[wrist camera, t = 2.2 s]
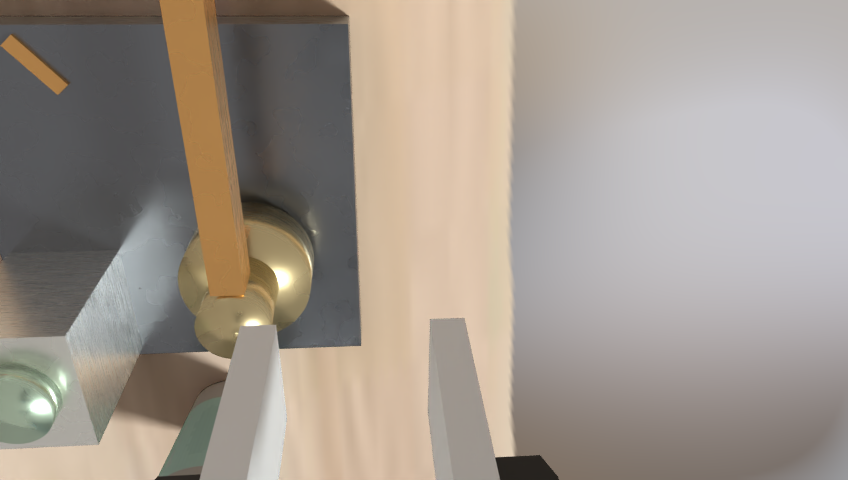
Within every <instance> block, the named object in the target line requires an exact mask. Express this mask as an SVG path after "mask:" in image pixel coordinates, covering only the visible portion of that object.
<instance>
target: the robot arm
mask: <svg viewBox="0 0 848 480" xmlns="http://www.w3.org/2000/svg"><path fill="white" fill-rule="evenodd" d="M428 417H429V425H430V434H431V442H432V451H433V459H434V468H435V476H436V480H559V479H558V476H557V475H556V474H555V473H554V472H553V470H552V469H551V468H550V467H549V466H548V464H547V463H546V462H545V461H544V459H542V457H541V456H540V455H536V456H516V457H496V458H495V454H494V450H493V445H492V441H491V436H490V432H489V427H488V423H487V418H486V414H485V409H484V405H483V400H482V396H481V391H480V387H479V382H478V378H477V373H476V369H475V364H474V360H473V355H472V351H471V346H470V341H469V337H468V332H467V328H466V323H465V319H464V318H450V319H430V343H429V387H428ZM286 422H287V414H286V406H285V397H284V388H283V380H282V371H281V363H280V354H279V345H278V337H277V328H276V325H252V326H240V329H239V333H238V337H237V340H236V344H235V348H234V352H233V355H232V359H231V363H230V367H229V370H228V374H227V378H226V382H225V386H224V389H223V393H222V397H221V401H220V404H219V408H218V412H217V416H216V419H215V423H214V427H213V431H212V434H211V438H210V442H209V446H208V450H207V453H206V457H205V461H204V465H203V468H202V472H201V474H196V475H177V476H157V478H156V479H155V480H279V473H280V466H281V458H282V451H283V444H284V437H285V429H286Z"/></svg>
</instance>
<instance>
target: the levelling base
mask: <svg viewBox="0 0 848 480" xmlns="http://www.w3.org/2000/svg"><path fill="white" fill-rule="evenodd" d="M217 24H218V31H219V39H220V46H221V54H222V62H223V69H224V77H225V84H226V92H227V99H228V107H229V114H230V122H231V129H232V137H233V144H234V152H235V159H236V167H237V175H238V182H239V190H240V197H241V203H243V202H253V203H261V204H265V205H269V206H272V207H275V208H277V209H280V210H281V211H283V212H285V213H287V214H288V215H290V216H291V217H293V218H294V219H295V220H296V221H297V222H298V223H299V224H300V225H301V226H302V227H303V228H304V230H305V231H306V233H307V234H308V236H309V238H310V241H311V243H312V246H313V251H314V267H313V275H312V283H311V291H310V297H309V300H308V303H307V305H306V307H305V309H304V311H303V312H302V314H301V315H300V316H299V317H298V318H297V319H296V320H295V321H294V322H293V323H292V324H290V325H289V326H287V327H286V328H284V329H282V330H280V331H278V332H277V337H278V345H279V349H287V348H313V347H340V346H361V310H360V285H359V260H358V234H357V209H356V184H355V159H354V133H353V108H352V83H351V57H350V32H349V16H217ZM197 227H198V224H197V218H196V212H195V206H194V200H193V194H192V189H191V183H190V177H189V171H188V165H187V159H186V154H185V148H184V142H183V136H182V130H181V124H180V118H179V113H178V107H177V101H176V95H175V89H174V83H173V78H172V72H171V66H170V60H169V54H168V48H167V42H166V37H165V31H164V25H163V19H162V16H0V254H1V257H2V260H3V261H2V262H1V263H0V449H17V448H38V447H59V446H80V445H99V442H100V440H101V438H102V436H103V434H104V431H105V429H106V427H107V425H108V423H109V420H110V418H111V416H112V414H113V412H114V409H115V407H116V405H117V403H118V401H119V398H120V396H121V394H122V392H123V390H124V387H125V385H126V383H127V381H128V379H129V376H130V374H131V372H132V370H133V368H134V366H135V363H136V361H137V359H138V357H139V355H140V354H155V353H181V352H208V350H207V349H206V348H204V347H203V346H202V345H201V343H200V342H199V340H198V339H197V337H196V334H195V329H194V325H195V320H196V316H195V315H194V314H193V313H192V312H191V311H190V310H189V308H188V307H187V306H186V304H185V302H184V301H183V298H182V296H181V294H180V290H179V286H178V271H179V266H180V263H181V261H182V258H183V256H184V254H185V252H186V250H187V247H188V245H189V243H190V241H191V239H192V236H193V234H194V232H195V230H196V229H197Z"/></svg>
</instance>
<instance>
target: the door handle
mask: <svg viewBox="0 0 848 480" xmlns="http://www.w3.org/2000/svg"><path fill="white" fill-rule="evenodd" d="M159 2H160V7H161V13H162V19H163V25H164V31H165V37H166V42H167V48H168V54H169V60H170V66H171V72H172V78H173V83H174V89H175V95H176V101H177V107H178V113H179V118H180V124H181V130H182V136H183V142H184V148H185V154H186V159H187V165H188V171H189V177H190V183H191V189H192V194H193V200H194V206H195V212H196V218H197V224H198V227H197V229H196V230H195V232H194V234H193V236H192V239H191V241H190V243H189V245H188V247H187V250H186V252H185V254H184V256H183V258H182V261H181V263H180V266H179V271H178V286H179V290H180V294H181V296H182V298H183V301H184V302H185V304H186V306H187V307H188V308H189V310H190V311H191V312H192V313H193V314H194V315H195V316H196V320H195V325H194V329H195V334H196V337H197V339H198V340H199V342H200V343H201V345H202V346H203V347H204V348H206V349H207V350H208V351H210V352H211V353H213V354H215V355H217V356H220V357H224V358H229V359H232V355H233V352H234V348H235V344H236V340H237V337H238V333H239V329H240V326H252V325H276V328H277V332H278V331H280V330H282V329H284V328H286V327H287V326H289V325H290V324H292V323H293V322H294V321H295V320H296V319H297V318H298V317H299V316H300V315H301V314H302V312H303V311H304V309H305V307H306V305H307V303H308V300H309V297H310V291H311V283H312V275H313V267H314V251H313V246H312V243H311V241H310V238H309V236H308V234H307V233H306V231H305V230H304V228H303V227H302V226H301V225H300V224H299V223H298V222H297V221H296V220H295V219H294V218H293V217H291V216H290V215H288V214H287V213H285V212H283V211H281V210H280V209H277V208H275V207H272V206H269V205H265V204H261V203H253V202H243V203H241V197H240V190H239V182H238V175H237V167H236V159H235V152H234V144H233V137H232V129H231V122H230V114H229V107H228V99H227V92H226V84H225V77H224V69H223V62H222V54H221V46H220V39H219V31H218V24H217V16H216V9H215V1H214V0H159Z"/></svg>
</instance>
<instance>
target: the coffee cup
mask: <svg viewBox="0 0 848 480" xmlns="http://www.w3.org/2000/svg"><path fill="white" fill-rule="evenodd" d="M225 382H226V381H223V382H219V383H216V384H213V385H211V386H209V387H207V388H206V389H204V390H203V391H202V392H201V393H200V394H199V396H198V397H197V399H196V401H195V403H194V405H193V407H192V409H191V411H190V413H189V415H188V417H187V419H186V421H185V423H184V425H183V427H182V429H181V431H180V433H179V435H178V437H177V439H176V441H175V443H174V445H173V447H172V449H171V451H170V453H169V455H168V457H167V459H166V461H165V464H164V466H163V468H162V470H161V472H160V474H159V476H177V475H196V474H201V472H202V468H203V465H204V461H205V457H206V453H207V450H208V446H209V442H210V438H211V434H212V431H213V427H214V423H215V419H216V416H217V412H218V408H219V404H220V401H221V397H222V393H223V389H224V386H225Z"/></svg>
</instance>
